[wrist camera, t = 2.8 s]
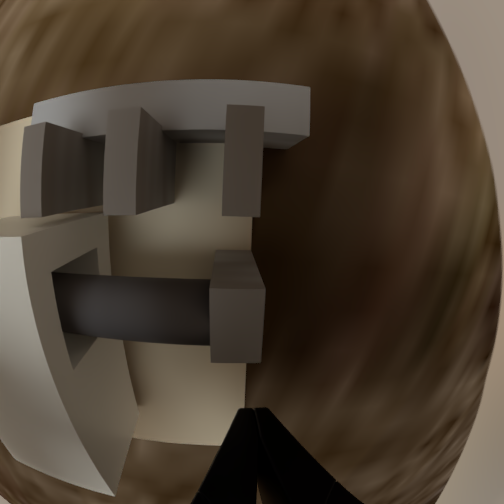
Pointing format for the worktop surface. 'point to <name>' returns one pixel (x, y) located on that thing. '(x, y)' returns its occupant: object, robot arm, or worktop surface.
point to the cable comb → (162, 230)
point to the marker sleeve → (60, 357)
